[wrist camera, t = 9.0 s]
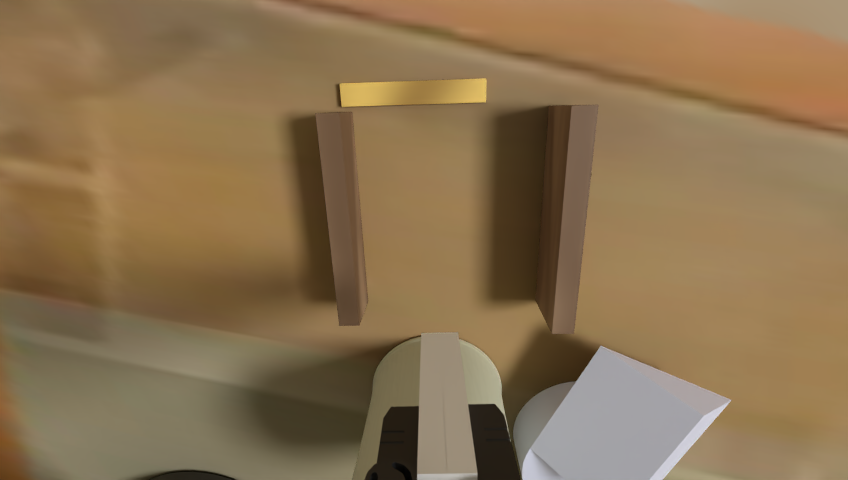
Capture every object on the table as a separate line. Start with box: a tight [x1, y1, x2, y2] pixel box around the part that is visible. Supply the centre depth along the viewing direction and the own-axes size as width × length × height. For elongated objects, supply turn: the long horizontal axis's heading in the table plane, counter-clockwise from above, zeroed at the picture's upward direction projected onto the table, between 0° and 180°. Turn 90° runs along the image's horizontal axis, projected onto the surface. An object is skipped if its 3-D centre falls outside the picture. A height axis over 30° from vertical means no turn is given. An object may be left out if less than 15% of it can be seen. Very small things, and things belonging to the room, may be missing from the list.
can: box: [352, 337, 511, 480], centre depth 22 cm, size 9×9×12 cm
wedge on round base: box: [513, 346, 731, 480], centre depth 25 cm, size 9×7×13 cm
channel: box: [315, 79, 598, 334], centre depth 22 cm, size 13×14×4 cm
